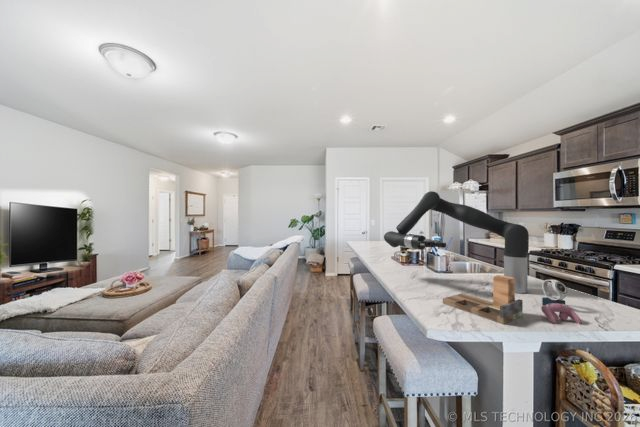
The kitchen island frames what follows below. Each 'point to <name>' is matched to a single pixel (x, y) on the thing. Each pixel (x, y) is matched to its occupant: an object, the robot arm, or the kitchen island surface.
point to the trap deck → (486, 307)
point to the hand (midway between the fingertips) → (445, 245)
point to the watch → (558, 288)
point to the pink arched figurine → (563, 312)
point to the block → (503, 290)
